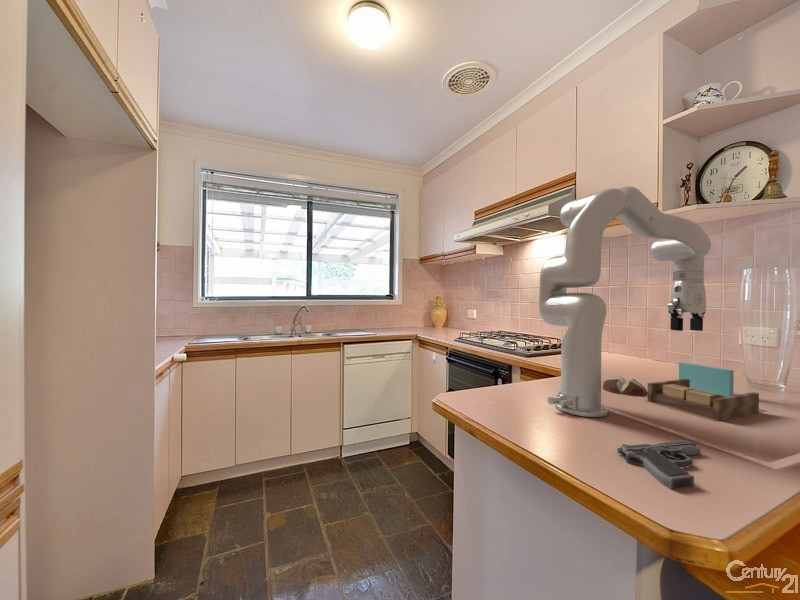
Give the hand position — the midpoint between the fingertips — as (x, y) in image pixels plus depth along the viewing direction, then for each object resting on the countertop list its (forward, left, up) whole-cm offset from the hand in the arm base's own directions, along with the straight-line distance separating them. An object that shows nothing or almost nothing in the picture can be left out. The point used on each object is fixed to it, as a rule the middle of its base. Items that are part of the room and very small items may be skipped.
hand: (686, 330), depth 104 cm
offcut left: (-21, -9, -19) cm, 30 cm away
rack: (-15, -12, -20) cm, 28 cm away
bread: (-21, +5, -20) cm, 30 cm away
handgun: (-56, -29, -21) cm, 66 cm away
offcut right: (-21, -15, -19) cm, 32 cm away
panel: (+3, +3, -16) cm, 16 cm away
